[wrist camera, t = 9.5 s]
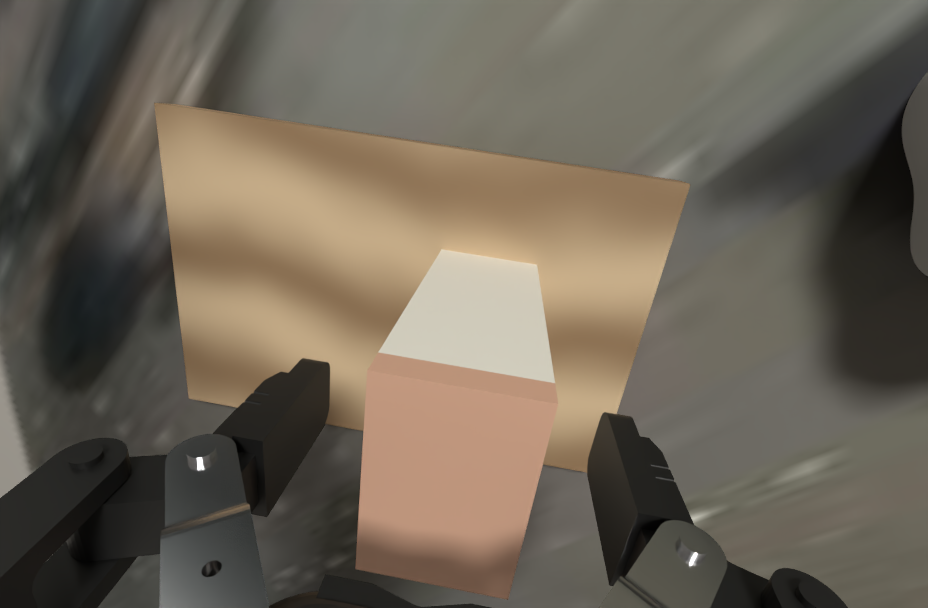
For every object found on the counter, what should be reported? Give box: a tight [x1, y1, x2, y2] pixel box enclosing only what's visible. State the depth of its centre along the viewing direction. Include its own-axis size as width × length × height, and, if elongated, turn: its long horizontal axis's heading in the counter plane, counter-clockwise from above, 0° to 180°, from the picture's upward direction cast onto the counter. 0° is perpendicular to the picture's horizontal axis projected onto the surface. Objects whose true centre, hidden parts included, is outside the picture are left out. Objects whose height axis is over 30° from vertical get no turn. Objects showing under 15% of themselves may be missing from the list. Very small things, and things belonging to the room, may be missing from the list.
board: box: [154, 103, 690, 472], centre depth 20 cm, size 14×21×1 cm, turn 82°
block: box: [355, 249, 558, 600], centre depth 15 cm, size 6×4×10 cm, turn 172°
